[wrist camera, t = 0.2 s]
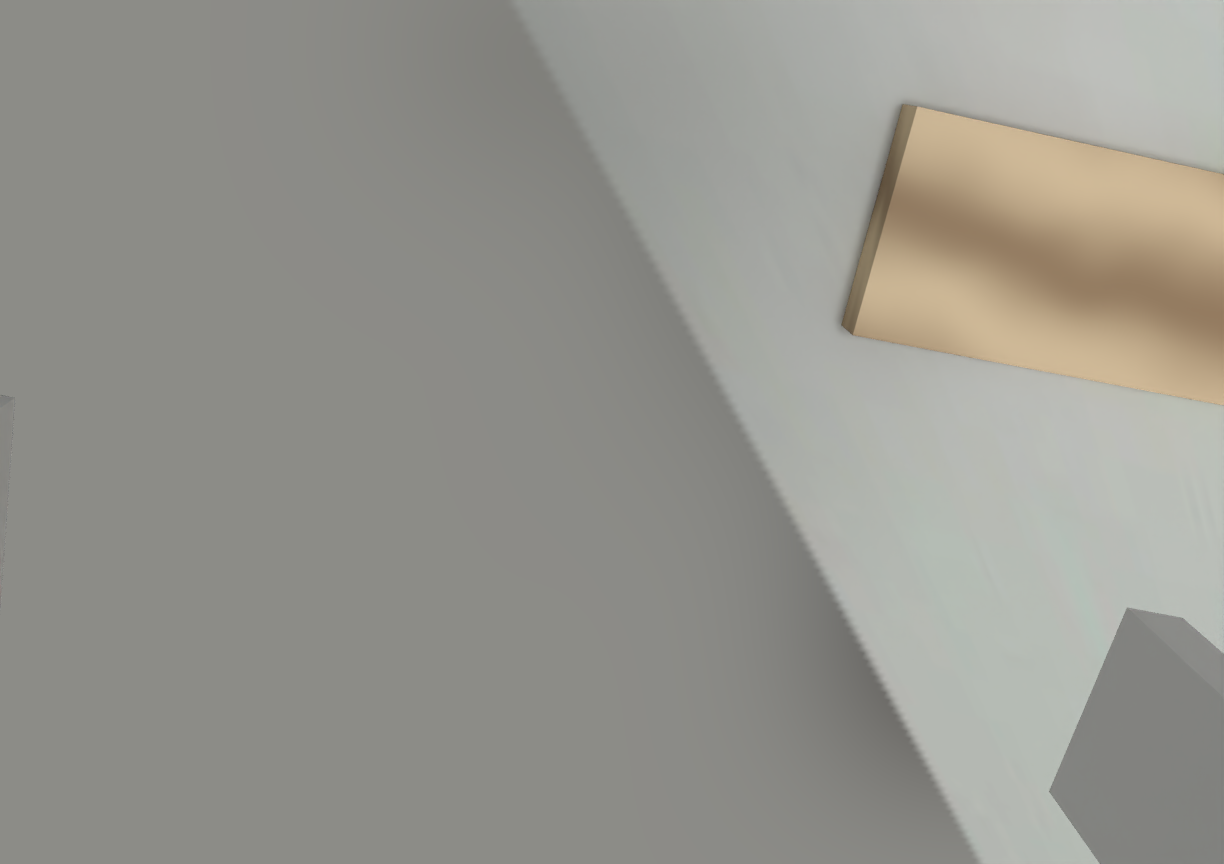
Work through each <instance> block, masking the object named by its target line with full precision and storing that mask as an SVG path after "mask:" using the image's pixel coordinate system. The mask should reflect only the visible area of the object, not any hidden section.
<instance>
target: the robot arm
mask: <svg viewBox="0 0 1224 864" xmlns="http://www.w3.org/2000/svg"><path fill="white" fill-rule="evenodd" d="M14 405H15V398H14V397H9V396H3V395H0V606H1V592H2V578H3V563H4V549H5V535H6V520H7V506H8V492H9V477H10V463H11V449H12V448H11V447H12V434H13V420H14ZM1049 792H1050V793H1051V795H1052V796H1053V798H1054V799H1055V801H1056V802H1057V803H1058V805H1059V806H1060V808H1061V809H1062V810H1063V812H1064V813H1065V815H1066V816H1067V818H1068V819H1069V820H1070V822H1071V823H1072V825H1073V826H1074V828H1075V829H1076V830H1077V832H1078V833H1079V835H1080V836H1081V838H1082V839H1083V840H1084V842H1085V843H1086V845H1087V846H1088V847H1089V849H1090V850H1091V852H1092V853H1093V855H1094V856H1095V857H1096V859H1097V860H1098V862H1099V863H1100V864H1224V654H1223V653H1222V652H1221V651H1220V650H1219V649H1218V648H1216V647H1215V646H1214V645H1213V644H1212V643H1211V642H1210V641H1208V640H1207V639H1206V638H1205V637H1204V636H1203V635H1202V634H1200V633H1199V632H1198V631H1197V630H1196V629H1195V628H1193V627H1192V626H1191V625H1190V624H1189V623H1188V622H1187V621H1185V620H1184V619H1183V618H1180V617H1175V616H1169V615H1164V614H1159V613H1153V612H1148V611H1143V610H1138V609H1132V608H1127V609H1126V611H1125V614H1124V616H1123V618H1122V621H1121V623H1120V625H1119V628H1118V630H1117V633H1116V635H1115V637H1114V640H1113V642H1112V644H1111V647H1110V649H1109V651H1108V654H1107V656H1106V659H1105V661H1104V663H1103V666H1102V668H1101V670H1100V673H1099V675H1098V677H1097V680H1096V682H1095V684H1094V687H1093V689H1092V692H1091V694H1090V696H1089V699H1088V701H1087V703H1086V706H1085V708H1084V710H1083V713H1082V715H1081V717H1080V720H1079V722H1078V725H1077V727H1076V729H1075V732H1074V734H1073V736H1072V739H1071V741H1070V743H1069V746H1068V748H1067V751H1066V753H1065V755H1064V758H1063V760H1062V762H1061V765H1060V767H1059V769H1058V772H1057V774H1056V776H1055V779H1054V781H1053V784H1052V786H1051V788H1050V791H1049Z"/></svg>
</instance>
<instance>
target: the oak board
mask: <svg viewBox="0 0 1224 864" xmlns="http://www.w3.org/2000/svg"><path fill="white" fill-rule="evenodd" d="M842 326H843V327H844V328H845V329H847V330H848V331H849V332H850V333H851V334H852V335H855V336H860V337H866V338H871V339H876V340H882V341H887V342H892V343H897V344H903V345H908V346H913V347H919V348H924V349H929V350H934V351H940V352H945V353H950V354H956V355H961V356H966V357H971V358H977V359H982V360H987V361H993V362H998V363H1003V364H1008V365H1014V366H1019V367H1024V368H1030V369H1035V370H1040V371H1045V372H1051V373H1056V374H1061V375H1067V376H1072V377H1077V378H1082V379H1088V380H1093V381H1098V382H1104V383H1109V384H1114V385H1119V386H1125V387H1130V388H1135V389H1141V390H1146V391H1151V392H1156V393H1162V394H1167V395H1172V396H1177V397H1183V398H1188V399H1193V400H1199V401H1204V402H1209V403H1214V404H1220V405H1224V174H1220V173H1215V172H1211V171H1206V170H1202V169H1197V168H1193V167H1188V166H1184V165H1179V164H1175V163H1170V162H1165V161H1161V160H1156V159H1152V158H1147V157H1143V156H1138V155H1134V154H1129V153H1125V152H1120V151H1116V150H1111V149H1107V148H1102V147H1098V146H1093V145H1089V144H1084V143H1080V142H1075V141H1071V140H1066V139H1061V138H1057V137H1052V136H1048V135H1043V134H1039V133H1034V132H1030V131H1025V130H1021V129H1016V128H1012V127H1007V126H1003V125H998V124H994V123H989V122H985V121H980V120H976V119H971V118H967V117H962V116H957V115H953V114H948V113H944V112H939V111H935V110H930V109H926V108H921V107H917V106H910V105H904V104H903V105H902V109H901V112H900V116H899V120H898V123H897V127H896V130H895V134H894V138H893V141H892V145H891V148H890V152H889V156H888V159H887V163H886V166H885V170H884V174H883V177H882V181H881V184H880V188H879V192H878V195H877V199H876V202H875V206H874V210H873V213H872V217H871V221H870V224H869V228H868V231H867V235H866V239H865V242H864V246H863V249H862V253H861V257H860V260H859V264H858V267H857V271H856V275H855V278H854V282H853V285H852V289H851V293H850V296H849V300H848V303H847V307H846V311H845V314H844V318H843V321H842Z"/></svg>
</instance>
